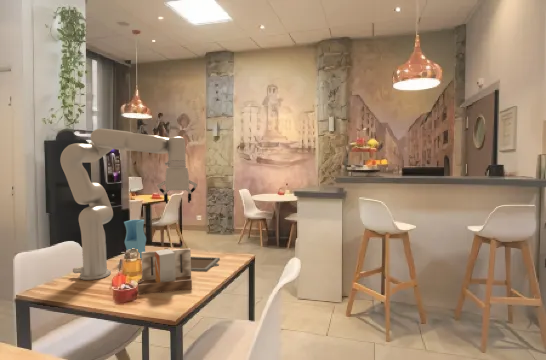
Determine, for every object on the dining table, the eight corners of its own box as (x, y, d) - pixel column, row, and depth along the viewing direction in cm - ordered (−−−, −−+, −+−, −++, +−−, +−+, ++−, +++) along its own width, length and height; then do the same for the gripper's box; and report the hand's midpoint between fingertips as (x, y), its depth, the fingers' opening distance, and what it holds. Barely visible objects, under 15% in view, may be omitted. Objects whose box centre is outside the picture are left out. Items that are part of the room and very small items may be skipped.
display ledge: (138, 294, 132) (137, 258, 131) (143, 282, 146) (141, 249, 145) (191, 289, 137) (190, 254, 136) (191, 277, 151) (190, 246, 150)
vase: (125, 259, 181) (123, 222, 180) (133, 255, 188) (132, 219, 187) (138, 260, 179) (137, 222, 178) (146, 256, 187) (145, 219, 186)
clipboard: (170, 255, 183) (224, 257, 178) (170, 258, 183) (224, 260, 178) (152, 266, 164) (212, 269, 159) (152, 270, 164) (212, 272, 159)
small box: (155, 281, 143) (154, 250, 142) (170, 278, 146) (169, 248, 145) (160, 287, 136) (159, 255, 135) (176, 284, 139) (175, 252, 139)
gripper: (155, 165, 147) (156, 204, 148) (196, 164, 151) (197, 203, 152) (157, 164, 155) (158, 202, 155) (196, 164, 158) (197, 201, 159)
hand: (177, 202), depth 154 cm, fingers open, 9 cm apart
